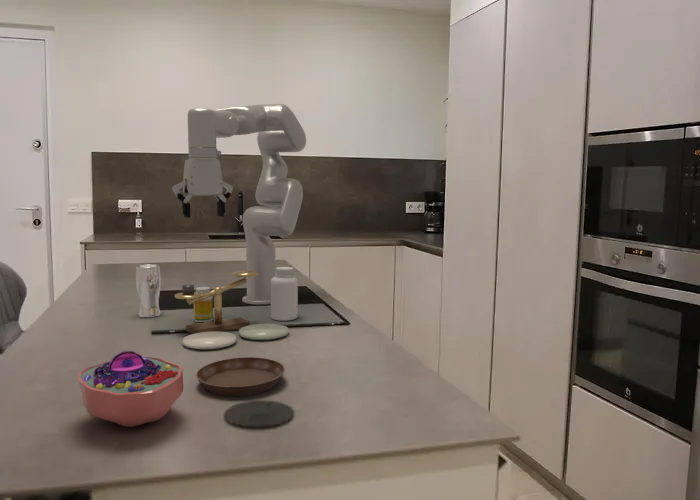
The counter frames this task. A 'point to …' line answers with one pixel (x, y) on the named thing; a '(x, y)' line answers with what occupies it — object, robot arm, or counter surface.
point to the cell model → (131, 388)
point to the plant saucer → (240, 376)
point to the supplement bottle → (203, 307)
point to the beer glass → (148, 289)
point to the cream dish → (209, 340)
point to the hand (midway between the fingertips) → (204, 216)
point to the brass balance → (215, 305)
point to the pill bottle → (284, 295)
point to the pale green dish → (263, 331)
